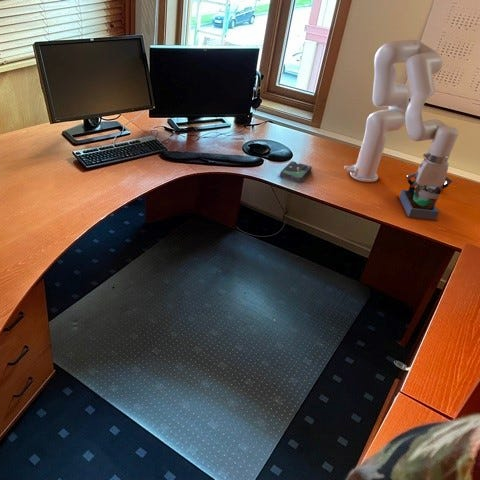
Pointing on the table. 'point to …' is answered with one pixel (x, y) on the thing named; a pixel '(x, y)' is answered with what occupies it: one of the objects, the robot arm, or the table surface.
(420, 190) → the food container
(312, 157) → the table surface
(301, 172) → the disk drive
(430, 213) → the rectangular frame
